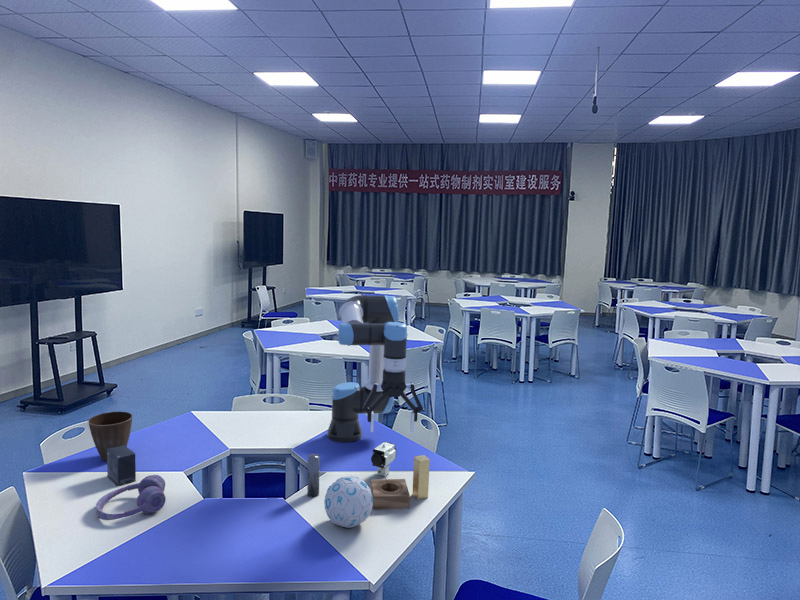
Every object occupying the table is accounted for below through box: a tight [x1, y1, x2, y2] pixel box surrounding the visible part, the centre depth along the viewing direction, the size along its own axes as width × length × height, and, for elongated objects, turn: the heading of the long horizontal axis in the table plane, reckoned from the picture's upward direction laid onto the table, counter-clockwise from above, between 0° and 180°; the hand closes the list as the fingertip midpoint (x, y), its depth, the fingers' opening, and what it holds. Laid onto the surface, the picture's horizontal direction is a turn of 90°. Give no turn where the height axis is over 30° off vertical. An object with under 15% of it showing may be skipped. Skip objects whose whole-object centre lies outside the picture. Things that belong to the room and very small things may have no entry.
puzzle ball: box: [324, 475, 373, 529], centre depth 171 cm, size 15×15×15 cm
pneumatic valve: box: [370, 441, 397, 477], centre depth 205 cm, size 6×12×12 cm, turn 152°
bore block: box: [370, 478, 410, 510], centre depth 187 cm, size 12×12×4 cm
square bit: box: [412, 454, 431, 501], centre depth 190 cm, size 4×4×14 cm
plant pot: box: [88, 411, 133, 462], centre depth 211 cm, size 15×15×16 cm
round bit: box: [306, 453, 321, 498], centre depth 188 cm, size 4×4×14 cm
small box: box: [106, 445, 137, 487], centre depth 195 cm, size 11×6×10 cm, turn 47°
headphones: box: [95, 474, 167, 521], centre depth 176 cm, size 18×8×20 cm
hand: (391, 430), depth 184 cm, fingers open, 13 cm apart
